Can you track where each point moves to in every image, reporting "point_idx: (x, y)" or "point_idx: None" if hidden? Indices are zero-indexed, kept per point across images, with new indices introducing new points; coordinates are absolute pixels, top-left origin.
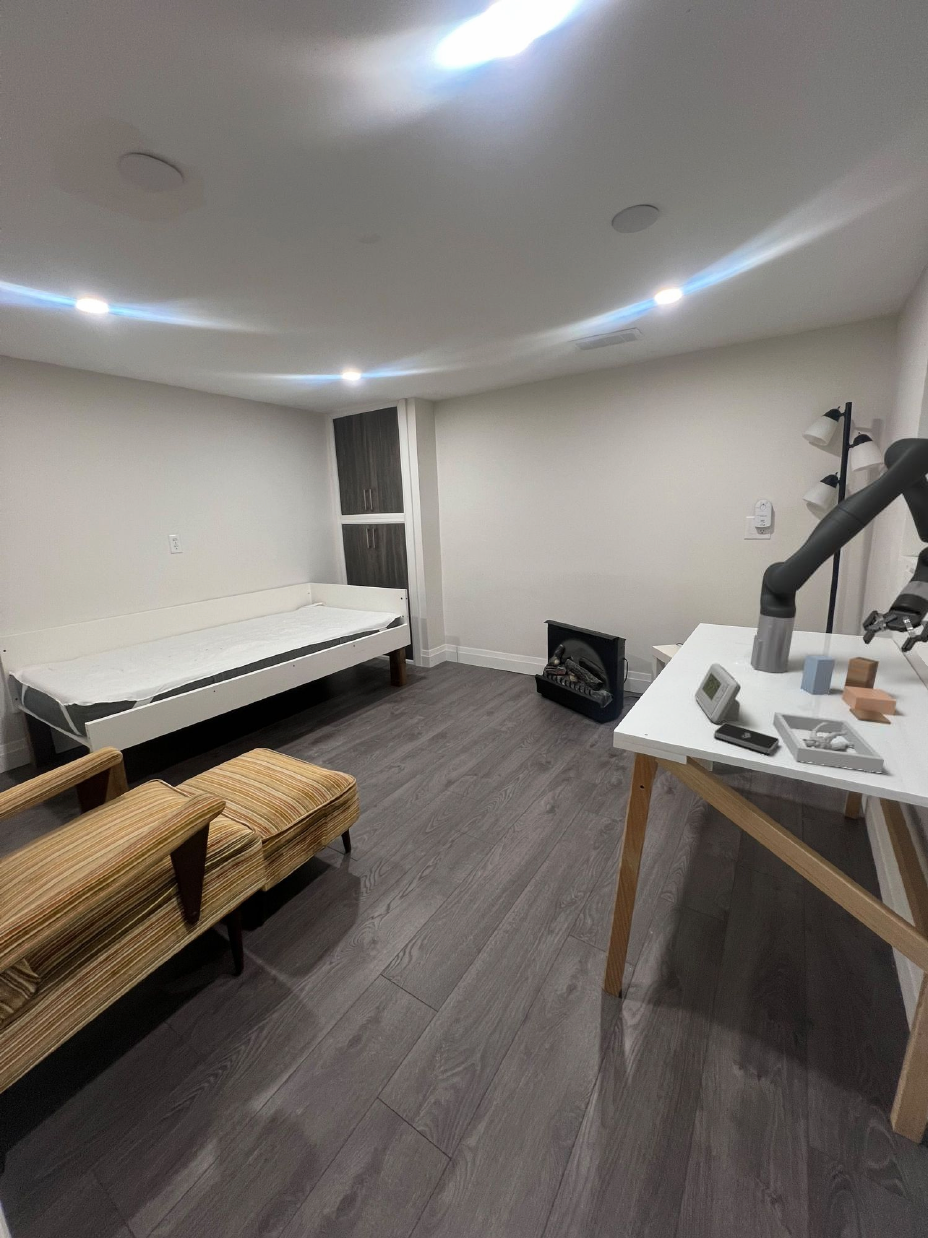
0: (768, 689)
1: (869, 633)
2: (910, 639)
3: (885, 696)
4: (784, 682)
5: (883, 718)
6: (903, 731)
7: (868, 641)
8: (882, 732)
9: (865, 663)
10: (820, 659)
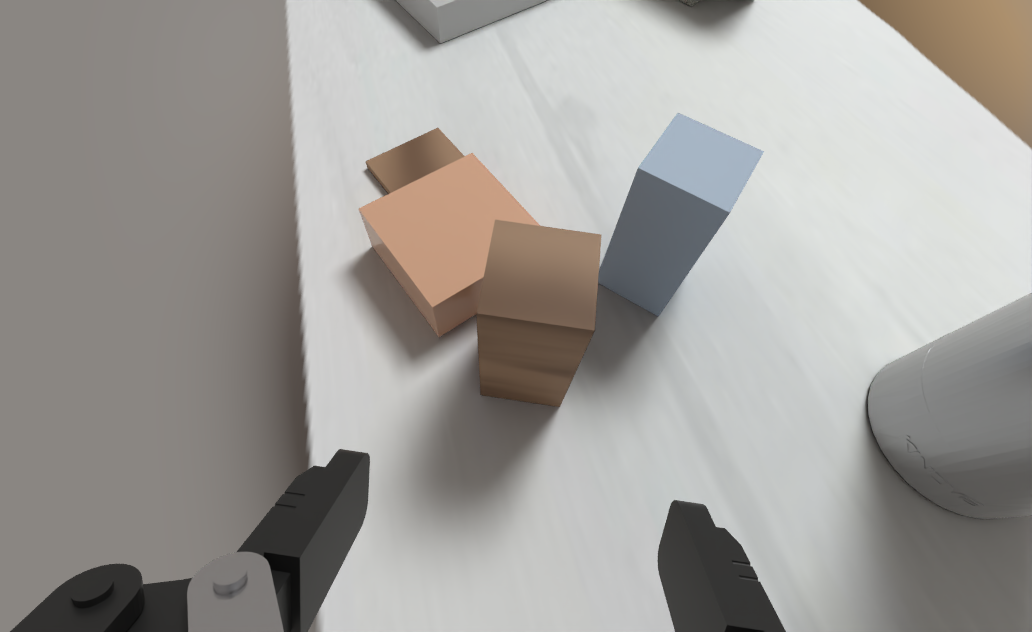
0: None
1: (718, 567)
2: (277, 542)
3: (400, 232)
4: (762, 287)
5: (386, 170)
6: (330, 145)
7: (668, 548)
8: (372, 103)
9: (515, 225)
10: (675, 122)
